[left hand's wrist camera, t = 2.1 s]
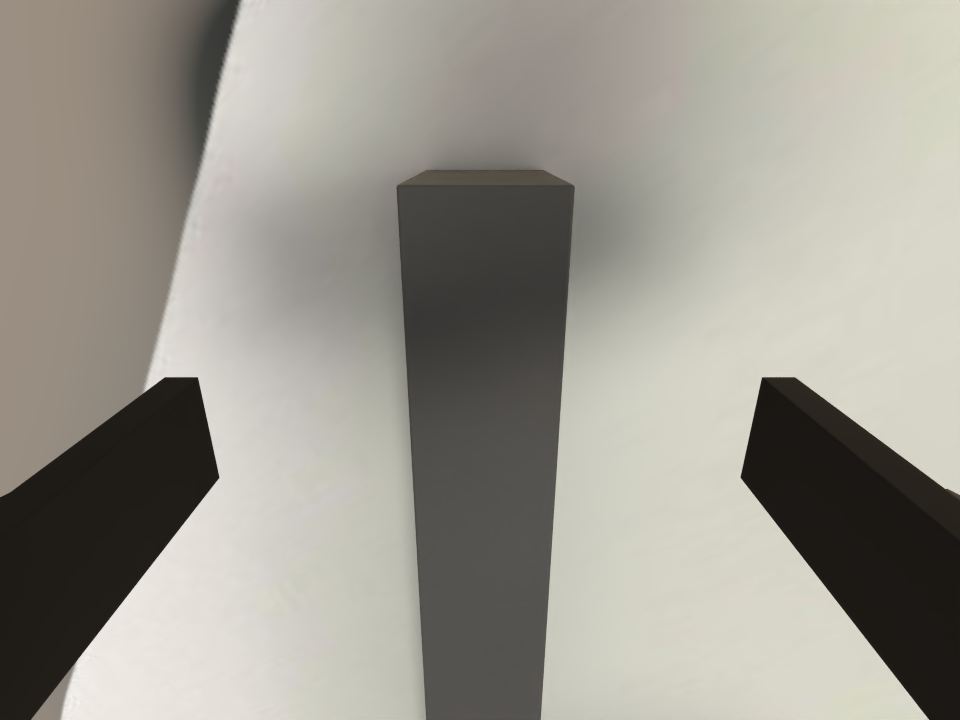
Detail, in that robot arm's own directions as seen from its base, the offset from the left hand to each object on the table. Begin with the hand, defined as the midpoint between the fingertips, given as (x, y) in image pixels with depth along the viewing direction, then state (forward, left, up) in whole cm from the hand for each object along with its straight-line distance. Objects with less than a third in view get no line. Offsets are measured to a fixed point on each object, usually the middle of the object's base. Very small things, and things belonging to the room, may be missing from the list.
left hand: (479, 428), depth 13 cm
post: (+20, +9, -14) cm, 27 cm away
